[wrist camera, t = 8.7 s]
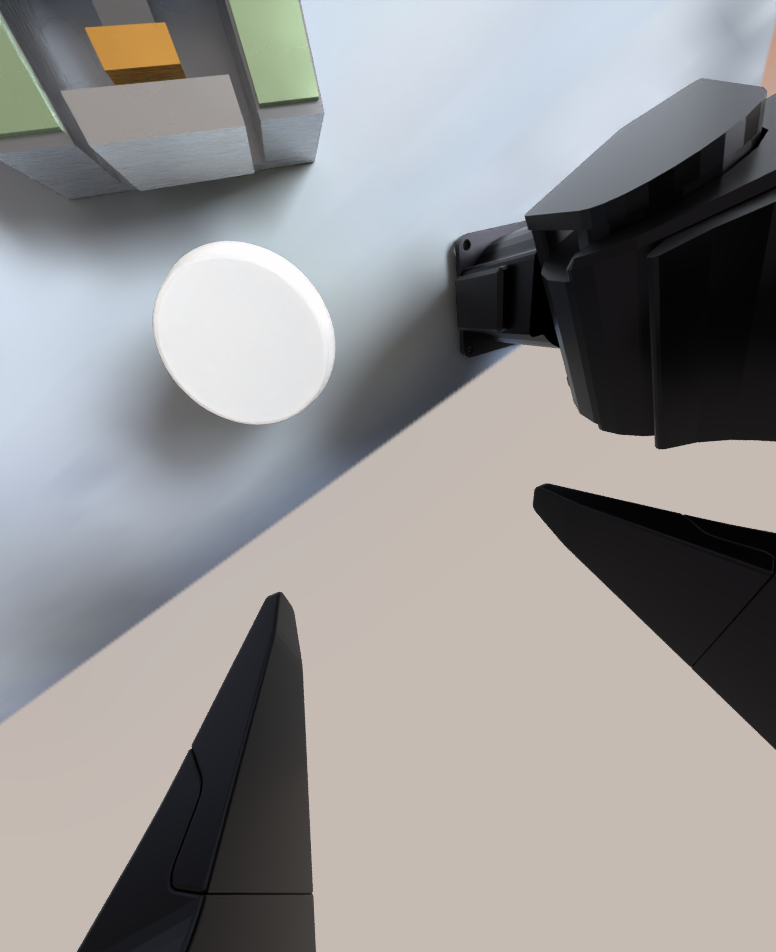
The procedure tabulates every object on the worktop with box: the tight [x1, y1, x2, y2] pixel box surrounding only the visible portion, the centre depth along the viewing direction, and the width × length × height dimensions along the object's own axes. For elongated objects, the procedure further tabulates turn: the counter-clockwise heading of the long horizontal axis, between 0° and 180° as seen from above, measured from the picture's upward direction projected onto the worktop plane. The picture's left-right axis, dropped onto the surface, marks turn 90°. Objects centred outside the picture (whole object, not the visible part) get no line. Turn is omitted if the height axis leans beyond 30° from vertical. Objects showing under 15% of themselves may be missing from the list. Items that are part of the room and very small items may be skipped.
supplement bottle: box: [153, 241, 335, 425], centre depth 11 cm, size 5×5×10 cm
